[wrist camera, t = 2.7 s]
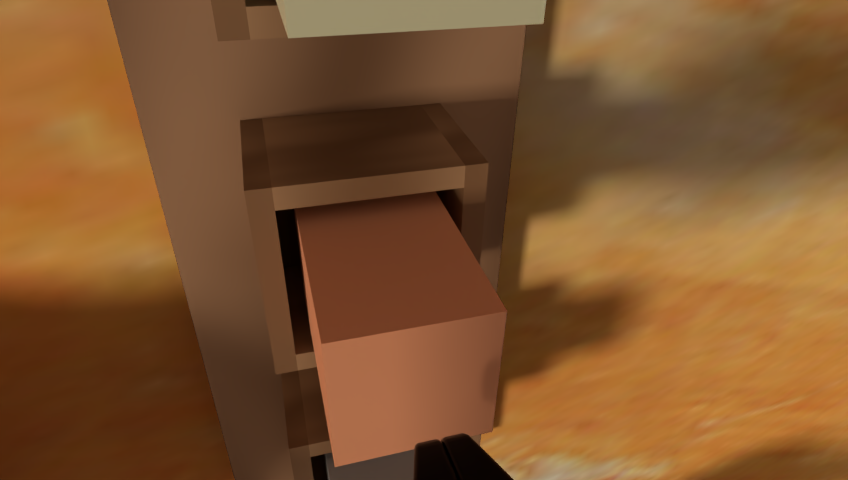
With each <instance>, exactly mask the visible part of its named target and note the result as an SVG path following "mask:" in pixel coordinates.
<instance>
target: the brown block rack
mask: <svg viewBox="0 0 848 480" xmlns="http://www.w3.org/2000/svg"><path fill="white" fill-rule="evenodd" d="M107 2H108V5H109V9H110V13H111V17H112V20H113V24H114V28H115V32H116V35H117V39H118V43H119V47H120V50H121V54H122V58H123V62H124V65H125V69H126V73H127V77H128V80H129V84H130V88H131V92H132V95H133V99H134V103H135V107H136V110H137V114H138V118H139V122H140V125H141V129H142V133H143V137H144V140H145V144H146V148H147V152H148V155H149V159H150V163H151V167H152V170H153V174H154V178H155V182H156V185H157V189H158V193H159V197H160V200H161V204H162V208H163V212H164V215H165V219H166V223H167V227H168V230H169V234H170V238H171V242H172V246H173V249H174V253H175V257H176V261H177V264H178V268H179V272H180V276H181V279H182V283H183V287H184V291H185V294H186V298H187V302H188V306H189V309H190V313H191V317H192V321H193V324H194V328H195V332H196V336H197V339H198V343H199V347H200V351H201V354H202V358H203V362H204V366H205V369H206V373H207V377H208V381H209V384H210V388H211V392H212V396H213V399H214V403H215V407H216V411H217V414H218V418H219V422H220V426H221V429H222V433H223V437H224V441H225V444H226V448H227V452H228V456H229V459H230V463H231V467H232V471H233V474H234V478H235V480H327V474H326V466H325V458H324V454H327V453H331V452H332V449H331V443H330V438H329V432H328V426H327V421H326V415H325V409H324V404H323V398H322V392H321V387H320V381H319V376H318V370H317V364H316V359H315V353H314V347H313V342H312V336H311V330H310V325H309V319H308V313H307V308H306V302H305V295H304V287H303V279H302V270H301V262H300V254H299V246H298V238H297V230H296V222H295V213H294V208H302V207H310V206H318V205H327V204H335V203H343V202H351V201H359V200H367V199H375V198H384V197H392V196H400V195H408V194H416V193H424V192H432V191H436V193H437V195H438V196H439V198H440V200H441V201H442V203H443V205H444V206H445V208H446V210H447V211H448V213H449V215H450V216H451V218H452V220H453V221H454V223H455V225H456V226H457V228H458V230H459V231H460V233H461V235H462V236H463V238H464V240H465V241H466V243H467V245H468V246H469V248H470V250H471V251H472V253H473V255H474V256H475V258H476V260H477V261H478V263H479V265H480V266H481V268H482V270H483V271H484V273H485V275H486V276H487V278H488V280H489V281H490V283H491V285H492V286H493V288H494V290H495V291H496V293H497V285H498V276H499V267H500V258H501V249H502V240H503V231H504V221H505V212H506V203H507V194H508V185H509V176H510V167H511V158H512V149H513V140H514V130H515V121H516V112H517V103H518V94H519V85H520V76H521V67H522V58H523V48H524V39H525V30H526V25H514V26H496V27H478V28H461V29H443V30H426V31H408V32H390V33H373V34H355V35H337V36H320V37H302V38H288V36H287V33H286V30H285V27H284V24H283V21H282V18H281V15H280V12H279V8H278V5H277V2H276V0H107ZM470 437H471V438H472V439H473V440H474V441H475V442H476V443H477V444H478V445H479V446H480V440H481V434H479V435H475V436H470Z"/></svg>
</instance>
